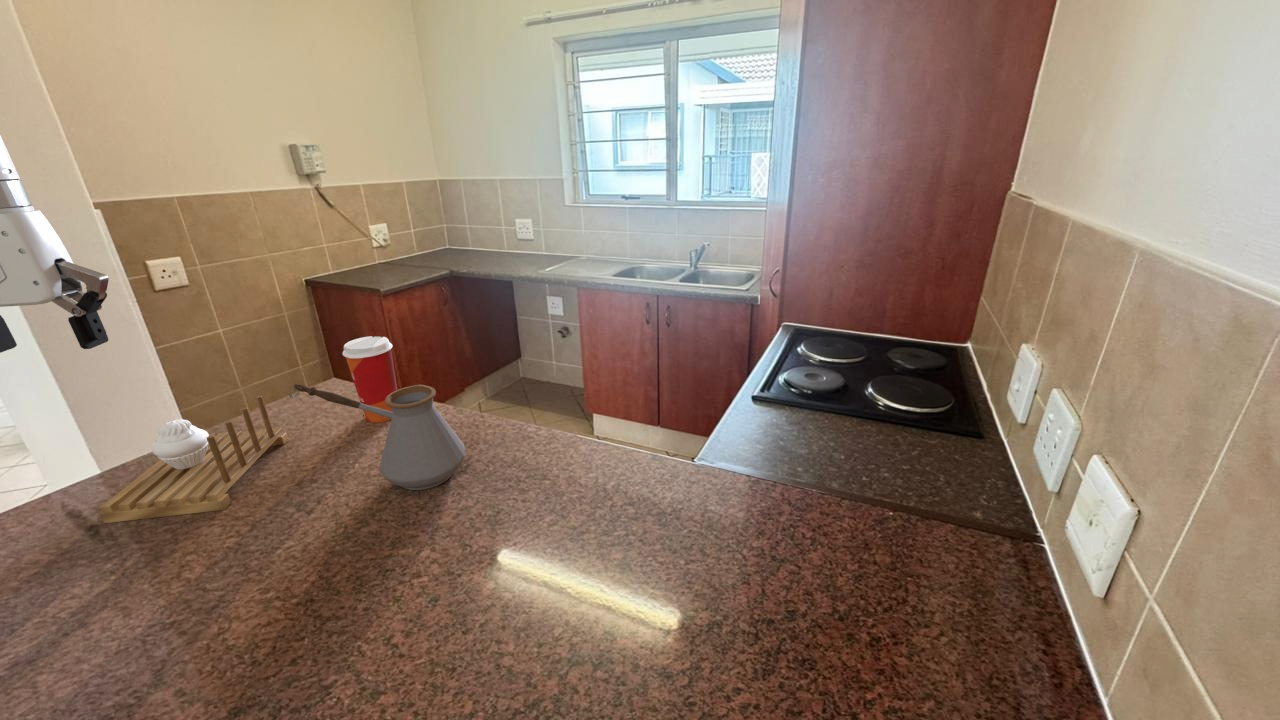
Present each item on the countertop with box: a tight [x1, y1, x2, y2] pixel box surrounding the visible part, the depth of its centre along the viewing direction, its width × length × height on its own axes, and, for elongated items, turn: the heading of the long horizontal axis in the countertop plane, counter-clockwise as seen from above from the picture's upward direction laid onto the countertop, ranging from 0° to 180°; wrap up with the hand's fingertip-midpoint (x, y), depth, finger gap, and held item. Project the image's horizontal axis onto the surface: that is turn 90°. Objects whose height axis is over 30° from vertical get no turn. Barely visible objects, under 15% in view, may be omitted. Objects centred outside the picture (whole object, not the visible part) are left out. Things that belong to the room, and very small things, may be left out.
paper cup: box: [341, 335, 398, 424], centre depth 87 cm, size 8×8×14 cm
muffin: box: [151, 419, 210, 469], centre depth 71 cm, size 6×6×7 cm
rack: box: [99, 395, 289, 524], centre depth 72 cm, size 14×18×10 cm
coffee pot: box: [289, 383, 467, 491], centre depth 70 cm, size 21×12×15 cm, turn 92°
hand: (49, 348), depth 60 cm, fingers open, 9 cm apart
